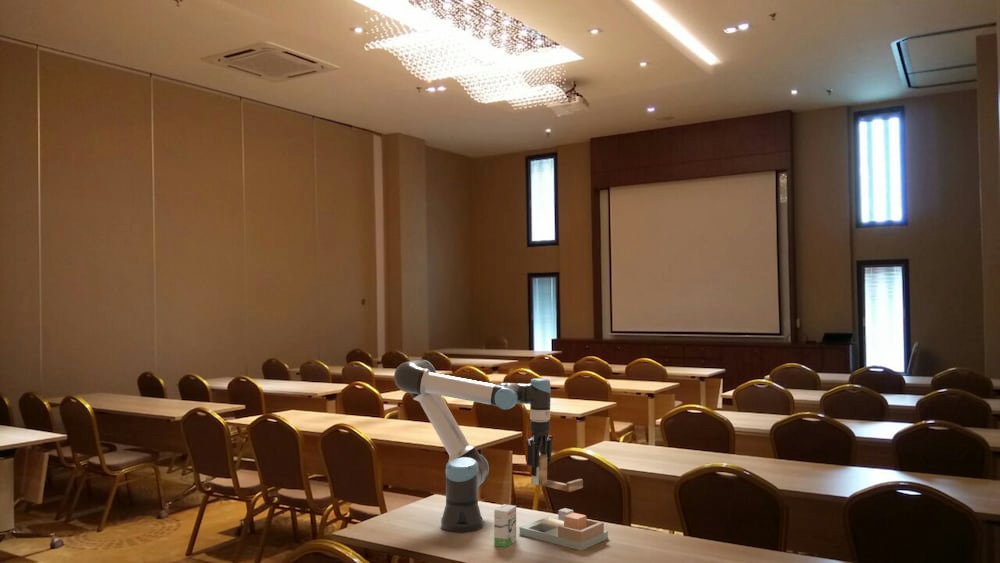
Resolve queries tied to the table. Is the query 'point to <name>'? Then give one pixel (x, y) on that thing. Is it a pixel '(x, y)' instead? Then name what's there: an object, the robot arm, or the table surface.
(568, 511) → the grey block
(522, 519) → the table surface
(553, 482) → the crook
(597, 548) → the table surface
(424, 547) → the table surface
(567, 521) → the block
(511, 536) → the ink box
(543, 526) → the grey sorting tray
